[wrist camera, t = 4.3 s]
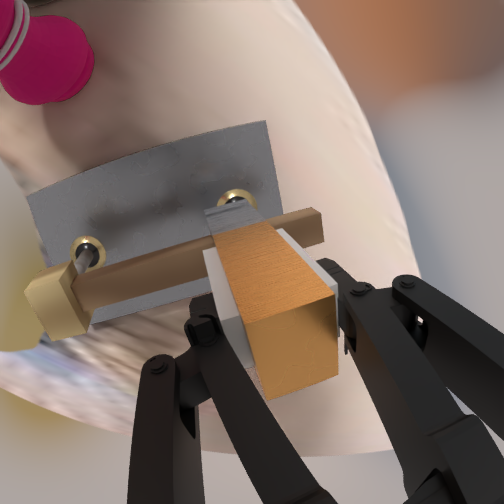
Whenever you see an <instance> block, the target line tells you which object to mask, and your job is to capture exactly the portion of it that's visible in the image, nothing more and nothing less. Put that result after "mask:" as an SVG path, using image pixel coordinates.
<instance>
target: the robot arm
mask: <svg viewBox="0 0 504 504" xmlns="http://www.w3.org/2000/svg"><path fill="white" fill-rule="evenodd" d="M276 231H277V232H278V233H279V234H280V235H281V236H282V237H283V238H284V240H285V241H286V242H287V243H288V244H289V245H290V246H291V247H292V248H293V249H294V250H295V251H296V252H297V253H298V254H299V255H300V256H301V258H302V259H303V260H304V261H305V262H306V263H307V264H308V265H309V266H310V267H311V268H312V269H313V270H314V271H315V273H316V274H317V275H318V276H319V277H320V278H321V279H322V280H323V281H324V282H325V283H326V284H327V286H328V287H329V288H330V289H331V290H332V291H333V292H334V293H335V299H336V316H337V337H340V328H341V329H342V330H343V331H344V352H345V355H346V354H348V350H349V352H350V354H351V356H352V358H353V360H354V362H355V364H356V366H357V368H358V370H359V373H360V375H361V377H362V379H363V381H364V383H365V385H366V388H367V390H368V392H369V394H370V396H371V398H372V401H373V403H374V405H375V407H376V409H377V412H378V414H379V416H380V418H381V421H382V423H383V425H384V427H385V430H386V432H387V434H388V437H389V439H390V441H391V444H392V446H393V448H394V451H395V453H396V455H397V457H398V460H399V462H400V465H401V467H402V470H403V474H404V475H403V476H404V477H403V479H404V480H403V481H404V487H405V491H406V493H407V496H408V500H406V501H405V502H404V503H403V504H504V458H503V456H502V454H501V452H500V451H499V449H498V447H497V445H496V444H495V442H494V440H493V439H492V437H491V435H490V434H489V432H488V430H487V429H486V427H485V425H484V424H483V422H484V423H486V425H488V426H489V427H490V428H491V429H492V430H493V431H494V432H495V433H496V434H497V435H498V436H499V437H500V438H501V439H502V440H504V334H503V333H501V332H500V331H498V330H497V329H496V328H494V327H493V326H491V325H490V324H488V323H487V322H485V321H484V320H483V319H481V318H480V317H478V316H477V315H475V314H474V313H472V312H471V311H469V310H468V309H466V308H465V307H463V306H462V305H460V304H459V303H457V302H456V301H454V300H453V299H451V298H450V297H448V296H446V295H445V294H443V293H442V292H440V291H439V290H437V289H436V288H434V287H432V286H431V285H429V284H428V283H426V282H425V281H423V280H421V279H420V278H418V277H416V276H413V275H400V276H397V277H396V278H394V280H393V282H392V287H390V288H383V289H375V288H374V287H373V286H372V285H371V284H369V283H366V282H357V281H356V280H355V279H354V278H352V277H351V276H350V275H349V274H348V273H347V272H346V271H344V269H343V268H341V267H340V266H339V265H338V264H337V263H336V262H335V261H333V260H330V259H327V258H323V259H320V260H317V261H315V260H314V259H313V258H312V257H311V256H310V255H309V254H308V253H307V252H306V251H305V250H304V249H303V248H302V247H301V246H300V245H299V244H298V243H297V242H296V241H295V240H294V239H293V238H292V237H291V236H289V235H288V234H287V233H286V232H285V231H284V230H283V229H282V228H281V229H278V230H276ZM202 251H203V255H204V260H205V264H206V268H207V272H208V276H209V280H210V284H211V289H212V293H210V294H206V295H203V296H199V297H195V298H193V299H192V301H191V303H190V305H189V308H190V317H191V318H190V319H188V320H187V321H186V323H185V325H184V331H185V333H186V335H187V338H188V340H189V343H190V345H191V347H190V348H189V350H187V351H186V352H185V353H184V354H182V355H180V356H178V357H177V358H175V359H174V358H173V357H172V356H170V355H166V354H161V355H157V356H154V357H152V358H150V359H149V360H147V362H146V363H145V364H144V365H143V368H142V371H141V377H140V383H139V390H138V397H137V404H136V411H135V419H134V427H133V436H132V445H131V456H130V466H129V479H128V494H127V504H205V496H204V486H203V474H202V462H201V446H200V430H199V410H198V405H199V404H200V403H202V402H204V401H206V400H208V399H209V398H211V397H212V399H213V402H214V404H215V406H216V408H217V411H218V413H219V415H220V418H221V420H222V422H223V424H224V426H225V429H226V431H227V433H228V435H229V437H230V439H231V441H232V444H233V446H234V448H235V450H236V452H237V454H238V456H239V458H240V460H241V462H242V464H243V466H244V468H245V470H246V472H247V474H248V476H249V478H250V480H251V482H252V484H253V486H254V487H255V489H256V491H257V493H258V495H259V497H260V498H261V500H262V502H263V504H338V503H337V502H336V501H335V499H334V498H333V497H332V496H331V495H330V493H329V492H328V491H326V490H325V489H323V488H322V487H321V486H320V485H319V484H318V482H317V481H316V480H315V478H314V477H313V475H312V474H311V472H310V471H309V469H308V468H307V466H306V465H305V464H304V462H303V461H302V459H301V458H300V456H299V455H298V453H297V452H296V450H295V449H294V447H293V446H292V444H291V443H290V441H289V440H288V438H287V437H286V435H285V433H284V432H283V430H282V429H281V427H280V426H279V424H278V423H277V421H276V419H275V418H274V416H273V415H272V413H271V411H270V410H269V408H268V407H267V405H266V403H265V402H264V400H263V399H262V397H261V395H260V394H259V392H258V390H257V389H256V387H255V385H254V384H253V382H252V380H251V379H250V377H249V375H248V374H247V372H246V370H245V369H248V368H251V367H254V366H255V365H254V362H253V358H252V355H251V352H250V348H249V345H248V342H247V338H246V335H245V331H244V328H243V324H242V321H241V317H240V314H239V311H238V309H237V306H236V303H235V300H234V298H233V295H232V292H231V289H230V286H229V284H228V281H227V278H226V275H225V272H224V269H223V267H222V264H221V261H220V258H219V255H218V252H217V249H216V247H213V248H210V249H206V250H202ZM418 316H419V317H420V318H422V319H423V323H421V322H419V321H418ZM339 326H340V327H339ZM446 387H447V388H448V389H449V390H450V391H451V392H452V393H454V394H455V395H456V396H457V397H458V398H459V399H460V400H461V401H462V402H463V403H464V404H465V405H467V407H469V408H470V409H471V410H472V411H473V412H474V413H475V414H476V415H477V416H476V415H474V414H471V415H465V414H464V413H463V412H462V411H461V409H460V408H459V406H458V405H457V403H456V401H455V400H454V399H453V397H452V395H451V394H450V392H449V391H448V389H447V388H446ZM479 418H480V419H481V420H482V421H483V422H482V421H481V420H480V419H479Z"/></svg>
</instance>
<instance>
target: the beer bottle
mask: <svg viewBox="0 0 504 504" xmlns="http://www.w3.org/2000/svg"><path fill="white" fill-rule="evenodd" d="M23 1H24V2H25V3H26V4H27V6H28V7H34V6H40V5H43V4H46V3H49V2H51V1H53V0H23Z"/></svg>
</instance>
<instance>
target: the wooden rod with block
mask: <svg viewBox="0 0 504 504" xmlns="http://www.w3.org/2000/svg"><path fill="white" fill-rule="evenodd" d="M265 220H266V221H267V222H268V223H269V224H270V225H271V226H272V227H273V228H274V229H275V230H278V229H281V228H282V229H283V230H284V231H285V232H286V233H287V234H288V235H289V236H291V237H292V238H293V239H294V240H295V241H296V242H297V243H298V244H299V245H300V246H301V247H302V248H306V247H309V246H312V245H316V244H319V243H322V242H324V236H323V227H322V219H321V213H320V212H318V211H317V210H315V209H313V208H312V207H310V208H306V209H302V210H298V211H295V212H291V213H287V214H283V215H280V216H276V217H272V218H269V219H265ZM213 247H215V244H214V241H213V238H212V235H208V236H205V237H201V238H198V239H194V240H191V241H187V242H184V243H180V244H177V245H174V246H170V247H167V248H164V249H160V250H157V251H154V252H150V253H147V254H144V255H140V256H137V257H134V258H131V259H127V260H124V261H121V262H118V263H114V264H111V265H108V266H105V267H102V268H99V269H95V270H92V271H89V272H86V270H87V268H88V266H89V265H90V263H91V261H92V259H93V253H92V251H90V250H89V249H85V250H83V251H82V252H81V254H80V255H79V257H78V258H77V260H76V261H75V263H73V260H70V261H67V262H64V263H61V264H58V265H55V266H53V267H50V268H47V269H44V270H41V271H39V273H38V274H37V275H36V277H35V278H34V279H33V280H32V282H31V283H30V284H29V286H28V287H27V288H26V290H25V291H24V293H25V295H26V297H27V299H28V301H29V303H30V305H31V306H32V308H33V310H34V312H35V314H36V315H37V317H38V319H39V320H40V322H41V324H42V326H43V327H44V329H45V331H46V332H47V334H48V336H49V337H50V339H51V340H52V341H56V340H60V339H64V338H68V337H72V336H77V335H81V334H85V333H87V330H88V327H89V324H90V321H91V319H92V316H93V313H94V310H95V309H96V308H100V307H103V306H107V305H110V304H114V303H117V302H121V301H125V300H128V299H132V298H135V297H139V296H142V295H146V294H149V293H153V292H156V291H160V290H163V289H167V288H170V287H174V286H177V285H180V284H184V283H187V282H191V281H194V280H198V279H201V278H205V277H208V272H207V268H206V264H205V260H204V255H203V251H202V250H206V249H210V248H213ZM85 272H86V273H85Z"/></svg>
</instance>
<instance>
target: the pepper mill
mask: <svg viewBox="0 0 504 504" xmlns="http://www.w3.org/2000/svg"><path fill="white" fill-rule="evenodd" d="M93 66H94V55H93V51H92V48H91V47H90V45H89V44H88V43H87V40H86V36H85V34H84V32H83V30H82V29H81V28H80V26H78V25H77V24H76V23H74V22H73V21H71V20H70V19H68V18H65V17H61V16H55V15H47V16H40V17H32V16H30V14H29V8H28V6H27V4H26V3H25V2H24V1H23V0H0V81H1V83H2V85H3V87H4V89H5V90H6V91H7V93H8V94H9V95H10V96H11V97H12V98H14V99H15V100H17V101H19V102H22V103H25V104H30V105H41V104H45V103H48V102H60V101H64V100H66V99H69V98H71V97H72V96H74V95H75V94H77V93H78V92H79V91H80V90H81V89H82V88H83V87H84V85H85V84H86V83H87V81H88V79H89V78H90V76H91V73H92V70H93Z"/></svg>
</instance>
